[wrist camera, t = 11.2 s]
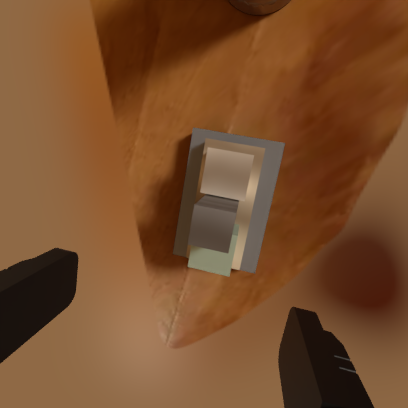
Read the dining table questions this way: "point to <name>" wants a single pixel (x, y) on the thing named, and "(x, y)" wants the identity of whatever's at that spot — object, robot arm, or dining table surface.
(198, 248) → the green block
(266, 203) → the dock
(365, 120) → the dining table surface
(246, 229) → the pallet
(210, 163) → the cream block
